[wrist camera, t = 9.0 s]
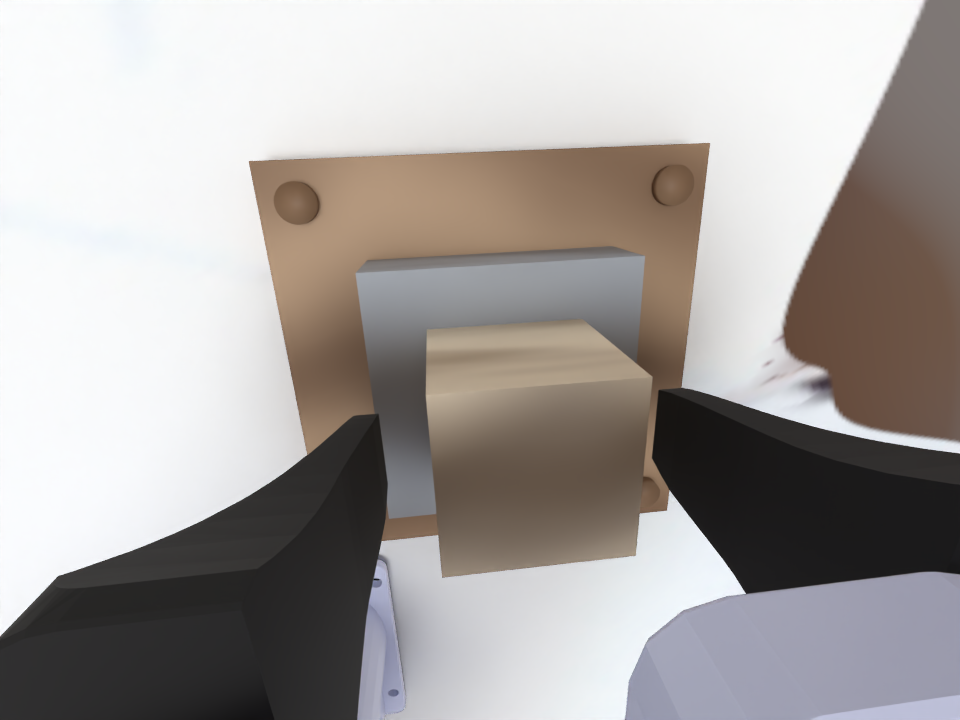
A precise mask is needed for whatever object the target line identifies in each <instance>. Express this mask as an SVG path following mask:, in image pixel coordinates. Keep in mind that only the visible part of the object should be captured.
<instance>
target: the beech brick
mask: <svg viewBox="0 0 960 720" xmlns="http://www.w3.org/2000/svg"><path fill="white" fill-rule="evenodd" d="M652 378H653V377H652V376H651V375H650V374H648V373H647V372H646V371H645V370H644V369H642V368H641V367H640V366H639V365H637V364H636V363H635V362H634V361H633V360H631V359H630V358H629V357H628V356H627V355H625V354H624V353H623V352H622V351H621V350H619V349H618V348H617V347H616V346H615V345H613V344H612V343H611V342H610V341H608V340H607V339H606V338H605V337H604V336H602V335H601V334H600V333H599V332H598V331H596V330H595V329H594V328H593V327H592V326H590V325H589V324H588V323H587V322H585V321H584V320H583V319H573V320H559V321H544V322H530V323H515V324H501V325H486V326H472V327H457V328H442V329H428V330H427V348H426V403H427V415H428V426H429V437H430V448H431V459H432V470H433V481H434V492H435V503H436V514H437V525H438V537H439V548H440V559H441V570H442V578H443V577H452V576H461V575H469V574H478V573H487V572H496V571H505V570H513V569H522V568H531V567H540V566H549V565H557V564H566V563H575V562H584V561H593V560H602V559H610V558H619V557H628V556H636V546H637V535H638V525H639V514H640V504H641V493H642V483H643V472H644V462H645V451H646V441H647V430H648V420H649V409H650V399H651V388H652Z"/></svg>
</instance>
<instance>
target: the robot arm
mask: <svg viewBox="0 0 960 720" xmlns="http://www.w3.org/2000/svg"><path fill="white" fill-rule="evenodd" d="M652 459H653V461H654V463H655V465H656V467H657V469H658V471H659V473H660V475H661V476H662V478H663V480H664V481H665V483H666V485H667V487H668V488H669V490H670V491H671V492H672V494H673V495H674V497H675V498H676V499H677V501H678V502H679V503H680V504H681V506H682V507H683V508H684V510H685V511H686V512H687V514H688V515H689V516H690V517H691V519H692V520H693V521H694V523H695V524H696V525H697V526H698V528H699V529H700V530H701V532H702V533H703V534H704V535H705V537H706V538H707V539H708V541H709V542H710V543H711V544H712V546H713V547H714V548H715V550H716V551H717V552H718V553H719V555H720V556H721V557H722V558H723V560H724V561H725V563H726V564H727V565H728V567H729V568H730V570H731V571H732V572H733V574H734V575H735V577H736V578H737V580H738V582H739V583H740V585H741V586H742V588H743V590H744V591H745V593H746V594H743V595H734V596H726V597H723V598H720V599H717V600H714V601H711V602H708V603H705V604H702V605H699V606H696V607H693V608H690V609H686V610H683V611H682V612H680V613H679V614H678V615H677V616H676V617H674V618H673V619H672V620H671V621H669V622H668V623H667V624H666V625H665V626H663V627H662V628H661V629H660V630H658V631H657V632H656V633H655V634H653V635H652V636H651V637H650V638H649V639H648V641H647V642H646V644H645V646H644V649H643V651H642V653H641V655H640V658H639V660H638V662H637V664H636V667H635V669H634V671H633V673H632V675H631V678H630V680H629V686H628V696H627V706H626V716H625V720H960V454H959V453H951V452H943V451H936V450H928V449H922V448H916V447H909V446H903V445H897V444H891V443H885V442H880V441H875V440H869V439H864V438H860V437H855V436H851V435H846V434H842V433H837V432H833V431H828V430H824V429H820V428H817V427H813V426H809V425H805V424H802V423H798V422H795V421H791V420H788V419H784V418H781V417H778V416H775V415H771V414H768V413H765V412H762V411H759V410H755V409H752V408H749V407H746V406H743V405H740V404H737V403H734V402H731V401H728V400H725V399H722V398H719V397H716V396H712V395H709V394H706V393H702V392H699V391H695V390H690V389H685V388H674V389H662V390H658V400H657V410H656V421H655V431H654V441H653V451H652ZM387 492H388V480H387V473H386V465H385V458H384V450H383V443H382V435H381V428H380V420H379V414H367V415H356V416H353V417H351V418H350V419H349V420H347V421H346V422H345V423H344V424H343V425H342V426H341V427H339V428H338V429H337V430H336V431H335V432H334V433H333V434H332V435H330V436H329V437H328V438H327V439H326V440H325V441H324V442H322V443H321V444H320V445H319V446H318V447H317V448H315V449H314V450H313V451H312V452H311V453H309V454H308V455H307V456H305V457H304V458H303V459H302V460H300V461H299V462H298V463H296V464H295V465H294V466H293V467H291V468H290V469H289V470H287V471H286V472H285V473H283V474H282V475H281V476H279V477H278V478H276V479H275V480H273V481H272V482H270V483H269V484H267V485H266V486H264V487H262V488H261V489H259V490H258V491H256V492H254V493H253V494H251V495H250V496H248V497H246V498H244V499H243V500H241V501H239V502H237V503H235V504H233V505H231V506H230V507H228V508H226V509H224V510H222V511H220V512H218V513H216V514H214V515H212V516H211V517H209V518H207V519H205V520H203V521H201V522H199V523H197V524H194V525H192V526H190V527H188V528H186V529H183V530H181V531H179V532H177V533H175V534H172V535H170V536H167V537H165V538H163V539H160V540H158V541H155V542H153V543H151V544H148V545H146V546H143V547H141V548H138V549H135V550H133V551H130V552H127V553H125V554H122V555H119V556H116V557H113V558H110V559H107V560H105V561H102V562H99V563H96V564H93V565H90V566H87V567H85V568H82V569H79V570H76V571H73V572H70V573H67V574H64V575H61V576H58V577H57V578H56V579H55V580H54V581H53V582H52V583H51V584H50V585H49V586H48V587H47V588H46V590H45V591H44V592H43V593H42V594H41V595H40V596H39V597H38V598H37V599H36V600H35V601H34V602H33V603H32V604H31V605H30V606H29V607H28V608H27V609H26V610H25V611H24V612H23V613H22V614H21V616H20V617H19V618H18V619H17V620H16V621H15V622H14V623H13V624H12V625H11V626H10V627H9V628H8V629H7V630H6V631H5V632H4V633H3V634H2V635H1V636H0V720H385V714H392V713H398V712H401V711H402V710H404V708H405V706H406V695H405V688H404V681H403V674H402V667H401V660H400V653H399V647H398V640H397V633H396V626H395V619H394V612H393V605H392V598H391V591H390V584H389V578H388V571H387V566H386V563H384V562H383V561H382V560H379V559H378V555H379V550H380V545H381V540H382V535H383V530H384V525H385V520H386V508H387ZM375 578H377V579H380V580H378V581H376V580H374V579H375Z"/></svg>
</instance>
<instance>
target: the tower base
mask: <svg viewBox="0 0 960 720" xmlns="http://www.w3.org/2000/svg"><path fill="white" fill-rule="evenodd" d="M709 147H710V143H699V144H673V145H648V146H623V147H598V148H572V149H547V150H522V151H496V152H471V153H446V154H421V155H395V156H370V157H345V158H319V159H294V160H269V161H249V165H250V170H251V175H252V180H253V185H254V190H255V195H256V200H257V205H258V210H259V215H260V220H261V225H262V230H263V235H264V240H265V245H266V250H267V255H268V260H269V265H270V270H271V275H272V280H273V285H274V290H275V295H276V300H277V305H278V310H279V315H280V320H281V325H282V330H283V335H284V340H285V345H286V350H287V355H288V360H289V365H290V370H291V375H292V380H293V385H294V390H295V395H296V400H297V405H298V410H299V415H300V420H301V425H302V430H303V435H304V440H305V445H306V450H307V455H308V454H309V453H311V452H312V451H313V450H314V449H315V448H317V447H318V446H319V445H320V444H321V443H322V442H324V441H325V440H326V439H327V438H328V437H329V436H330V435H332V434H333V433H334V432H335V431H336V430H337V429H338V428H339V427H341V426H342V425H343V424H344V423H345V422H346V421H347V420H349V419H350V418H351V417H353V416H356V415H367V414H379V420H380V428H381V435H382V443H383V450H384V458H385V465H386V473H387V480H388V492H387V508H386V520H385V525H384V530H383V535H382V540H381V541H387V540H396V539H405V538H415V537H424V536H433V535H438V525H437V514H436V503H435V492H434V481H433V470H432V459H431V448H430V437H429V426H428V415H427V403H426V348H427V330H428V329H442V328H457V327H472V326H486V325H501V324H515V323H530V322H544V321H559V320H573V319H583V320H584V321H585V322H587V323H588V324H589V325H590V326H592V327H593V328H594V329H595V330H596V331H598V332H599V333H600V334H601V335H602V336H604V337H605V338H606V339H607V340H608V341H610V342H611V343H612V344H613V345H615V346H616V347H617V348H618V349H619V350H621V351H622V352H623V353H624V354H625V355H627V356H628V357H629V358H630V359H631V360H633V361H634V362H635V363H636V364H637V365H639V366H640V367H641V368H642V369H644V370H645V371H646V372H647V373H648V374H650V375H651V376H652V377H653V378H652V388H651V399H650V409H649V420H648V430H647V441H646V451H645V462H644V472H643V483H642V493H641V504H640V513H647V512H657V511H666V510H667V505H668V496H669V488H668V487H667V485H666V483H665V481H664V480H663V478H662V476H661V475H660V473H659V471H658V469H657V467H656V465H655V463H654V461H653V459H652V451H653V441H654V431H655V421H656V410H657V400H658V390H662V389H674V388H681V386H682V377H683V369H684V360H685V352H686V343H687V335H688V326H689V318H690V309H691V301H692V292H693V284H694V275H695V267H696V258H697V250H698V241H699V233H700V224H701V216H702V207H703V199H704V190H705V181H706V173H707V164H708V156H709Z"/></svg>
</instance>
